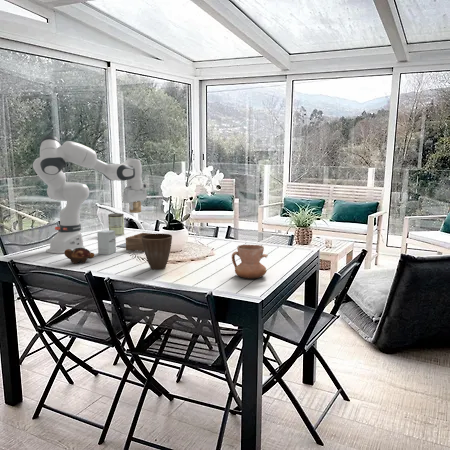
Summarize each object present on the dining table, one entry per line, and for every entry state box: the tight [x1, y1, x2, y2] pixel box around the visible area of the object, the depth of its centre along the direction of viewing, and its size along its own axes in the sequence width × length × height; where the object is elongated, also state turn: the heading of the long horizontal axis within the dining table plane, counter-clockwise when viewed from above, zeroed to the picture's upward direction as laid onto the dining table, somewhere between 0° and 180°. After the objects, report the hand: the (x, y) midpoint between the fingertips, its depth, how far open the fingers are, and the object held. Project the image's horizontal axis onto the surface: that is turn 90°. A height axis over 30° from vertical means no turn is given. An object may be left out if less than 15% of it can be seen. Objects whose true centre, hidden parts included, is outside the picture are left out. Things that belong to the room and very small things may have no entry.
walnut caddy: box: [125, 232, 153, 252], centre depth 269 cm, size 18×14×7 cm
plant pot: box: [141, 233, 173, 271], centre depth 223 cm, size 15×15×16 cm
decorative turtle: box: [63, 247, 95, 265], centre depth 234 cm, size 10×15×8 cm, turn 130°
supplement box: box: [96, 229, 117, 256], centre depth 255 cm, size 7×7×13 cm
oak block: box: [128, 201, 142, 214], centre depth 268 cm, size 5×5×6 cm
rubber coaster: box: [116, 242, 126, 249], centre depth 274 cm, size 9×9×1 cm
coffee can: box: [107, 212, 125, 237], centre depth 309 cm, size 10×10×14 cm
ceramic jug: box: [231, 244, 269, 280], centre depth 208 cm, size 18×14×14 cm
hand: (135, 209), depth 268 cm, fingers closed on oak block, 5 cm apart
